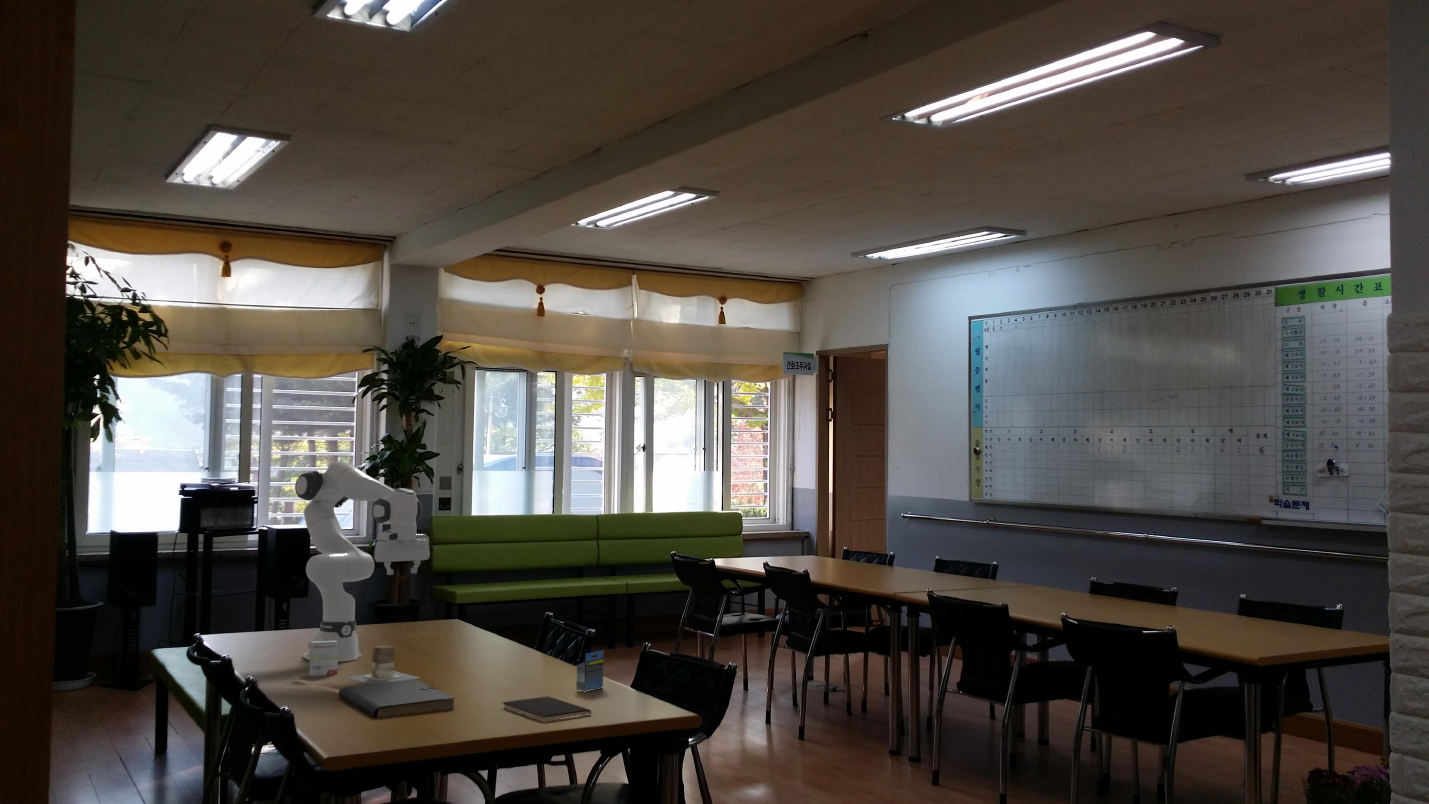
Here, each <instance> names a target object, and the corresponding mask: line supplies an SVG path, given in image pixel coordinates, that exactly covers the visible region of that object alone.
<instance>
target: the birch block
mask: <svg viewBox="0 0 1429 804" xmlns="http://www.w3.org/2000/svg"><path fill="white" fill-rule="evenodd" d="M394 671H395V661H394V662H392V663H384V664H378V663H374V662H372V664H371V673H372V677H373V678H377V679H382V678H390V677H393V676H394Z"/></svg>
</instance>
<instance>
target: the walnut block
mask: <svg viewBox="0 0 1429 804" xmlns="http://www.w3.org/2000/svg"><path fill="white" fill-rule="evenodd" d="M372 662H374V663H378V664H384V663H392V662H394V663H395V646H391V645H387V644H386V645H385V644H384V645H377V646H372Z"/></svg>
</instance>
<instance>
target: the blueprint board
mask: <svg viewBox="0 0 1429 804" xmlns="http://www.w3.org/2000/svg"><path fill="white" fill-rule="evenodd" d="M344 678H346V679H349V680H353V681H355V682H361V683H364V684H366V685H367V684H376V683H385V682H393V681H407V680H417V679H421V677H419V676H416V675H411V674H408V673H405V672H404V673H403V672H401V671H400V672H399V671H396V670H394V676H393V677H390V678H382V679H377V678H373V677H372V672H371V673H365V674H358V675H351V676H350V675H349V676H344Z"/></svg>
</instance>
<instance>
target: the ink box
mask: <svg viewBox="0 0 1429 804" xmlns="http://www.w3.org/2000/svg"><path fill="white" fill-rule="evenodd" d="M338 663H339V662H338V642H337V641H336V640H335V641H312V642H311V646H310V660H309V671H308V674H309V676H311V677H315V676H316V677H317V676H333V675H338V666H339V664H338Z"/></svg>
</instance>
